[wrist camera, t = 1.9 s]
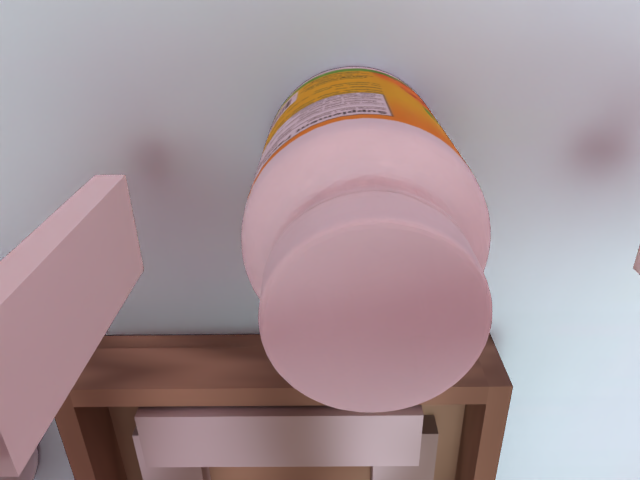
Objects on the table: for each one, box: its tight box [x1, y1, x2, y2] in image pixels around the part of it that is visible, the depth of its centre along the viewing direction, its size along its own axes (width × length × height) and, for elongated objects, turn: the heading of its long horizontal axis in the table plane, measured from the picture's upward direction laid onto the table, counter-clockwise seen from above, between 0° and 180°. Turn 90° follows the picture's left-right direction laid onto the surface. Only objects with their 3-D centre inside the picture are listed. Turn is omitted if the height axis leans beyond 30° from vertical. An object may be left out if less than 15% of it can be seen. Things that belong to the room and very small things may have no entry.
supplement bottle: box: [241, 67, 492, 413], centre depth 13 cm, size 5×5×10 cm
